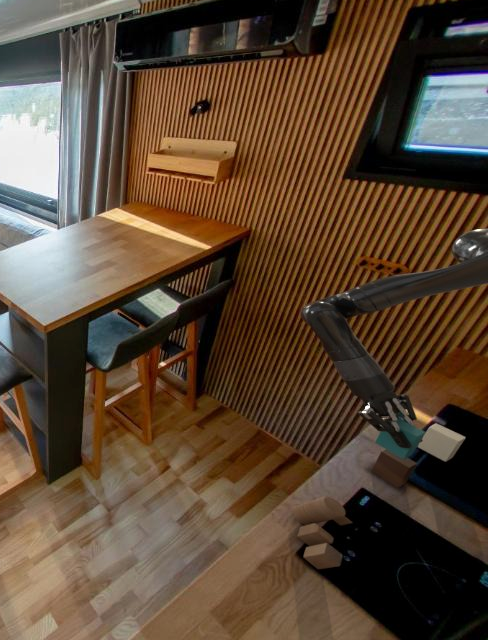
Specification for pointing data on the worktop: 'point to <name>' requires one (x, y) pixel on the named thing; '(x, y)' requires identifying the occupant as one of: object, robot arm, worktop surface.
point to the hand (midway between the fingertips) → (411, 444)
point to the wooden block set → (320, 530)
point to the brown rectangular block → (393, 468)
